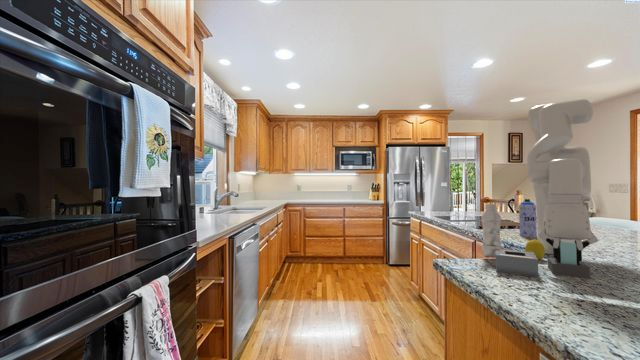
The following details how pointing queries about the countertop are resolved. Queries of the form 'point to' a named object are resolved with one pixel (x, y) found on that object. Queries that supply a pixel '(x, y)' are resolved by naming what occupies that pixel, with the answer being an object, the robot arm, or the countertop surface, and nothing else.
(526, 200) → the aerosol can
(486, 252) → the plastic bottle
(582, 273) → the grey square socket
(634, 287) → the countertop surface
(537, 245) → the lemon
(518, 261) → the port block
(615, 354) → the countertop surface
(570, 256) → the plug
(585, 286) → the countertop surface
